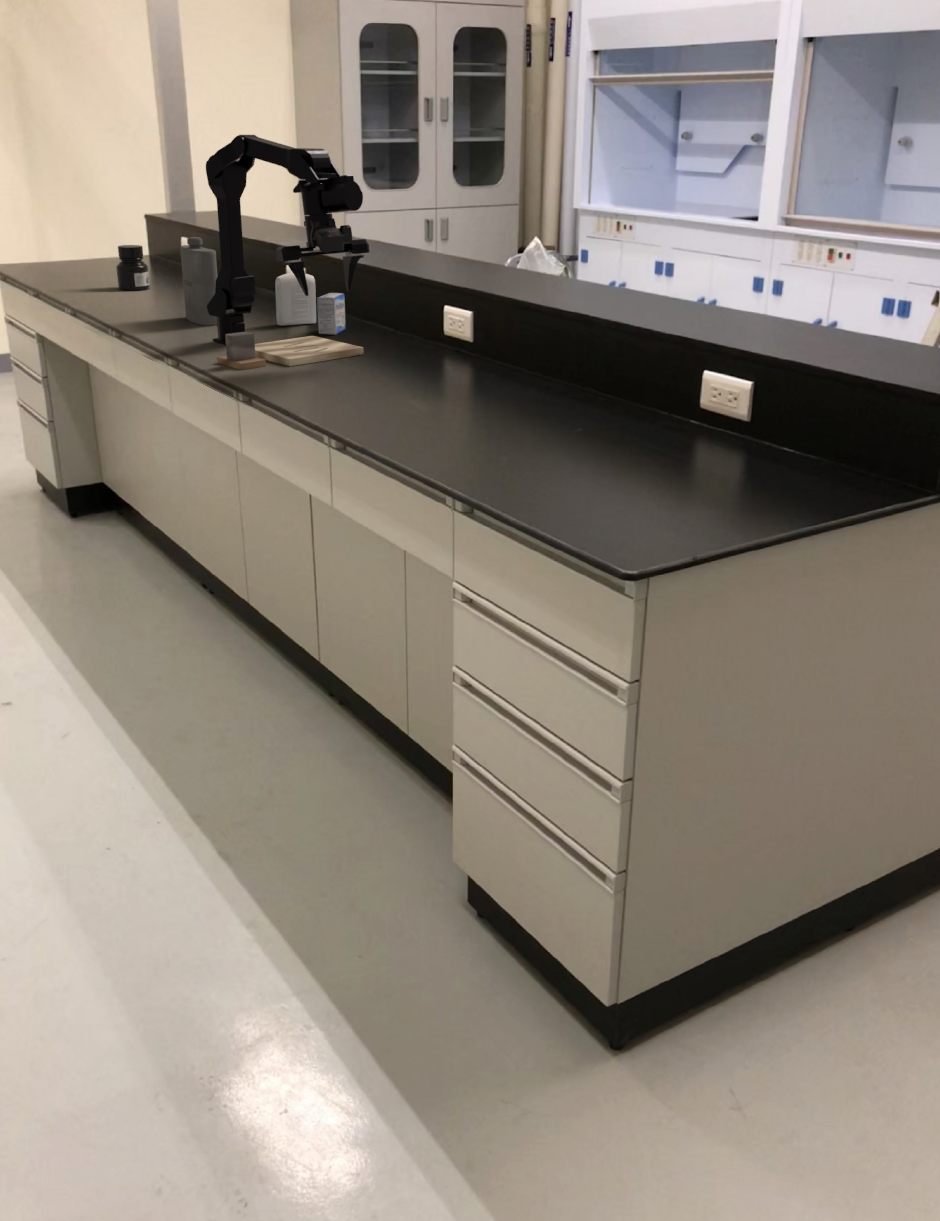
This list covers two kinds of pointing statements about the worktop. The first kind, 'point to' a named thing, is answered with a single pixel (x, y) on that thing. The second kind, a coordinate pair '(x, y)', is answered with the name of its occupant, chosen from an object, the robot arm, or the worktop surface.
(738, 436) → the worktop surface
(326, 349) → the sanding board
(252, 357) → the block
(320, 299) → the medicine box
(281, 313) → the white rectangular bottle
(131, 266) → the ink bottle
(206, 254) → the flask
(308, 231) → the robot arm
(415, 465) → the worktop surface
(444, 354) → the worktop surface
